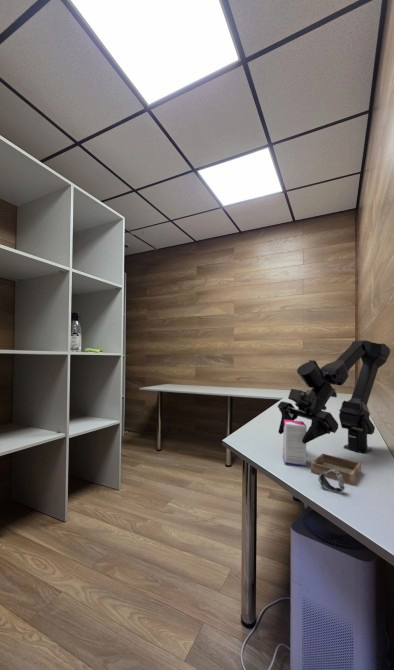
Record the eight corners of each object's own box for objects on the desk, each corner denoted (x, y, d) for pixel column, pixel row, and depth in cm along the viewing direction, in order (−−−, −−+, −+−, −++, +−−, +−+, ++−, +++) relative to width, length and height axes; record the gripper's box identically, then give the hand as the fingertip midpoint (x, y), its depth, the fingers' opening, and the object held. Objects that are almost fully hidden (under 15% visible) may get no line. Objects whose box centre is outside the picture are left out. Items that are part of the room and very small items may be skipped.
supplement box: (306, 467, 75) (306, 425, 76) (284, 464, 76) (285, 423, 77) (302, 459, 81) (303, 420, 82) (282, 457, 82) (282, 419, 83)
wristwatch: (334, 494, 64) (319, 473, 66) (351, 485, 61) (334, 464, 63) (328, 499, 62) (313, 478, 64) (345, 491, 59) (329, 469, 61)
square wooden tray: (322, 462, 79) (322, 453, 79) (361, 472, 72) (360, 463, 73) (311, 472, 72) (311, 462, 72) (352, 485, 65) (352, 474, 65)
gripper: (282, 376, 90) (255, 412, 85) (331, 383, 73) (301, 428, 68) (299, 399, 93) (274, 435, 88) (350, 410, 76) (323, 455, 71)
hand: (290, 437), depth 78 cm, fingers open, 9 cm apart
